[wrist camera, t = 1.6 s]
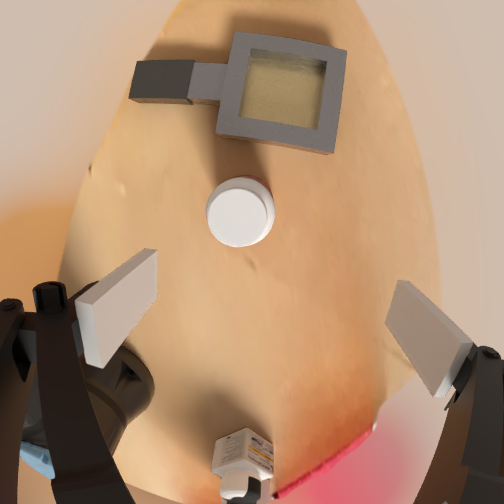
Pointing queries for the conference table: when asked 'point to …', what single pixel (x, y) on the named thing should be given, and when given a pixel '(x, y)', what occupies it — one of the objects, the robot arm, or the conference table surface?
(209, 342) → the conference table surface
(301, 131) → the grey square pan
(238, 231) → the pill bottle
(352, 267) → the conference table surface
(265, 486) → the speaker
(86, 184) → the conference table surface
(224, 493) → the container
